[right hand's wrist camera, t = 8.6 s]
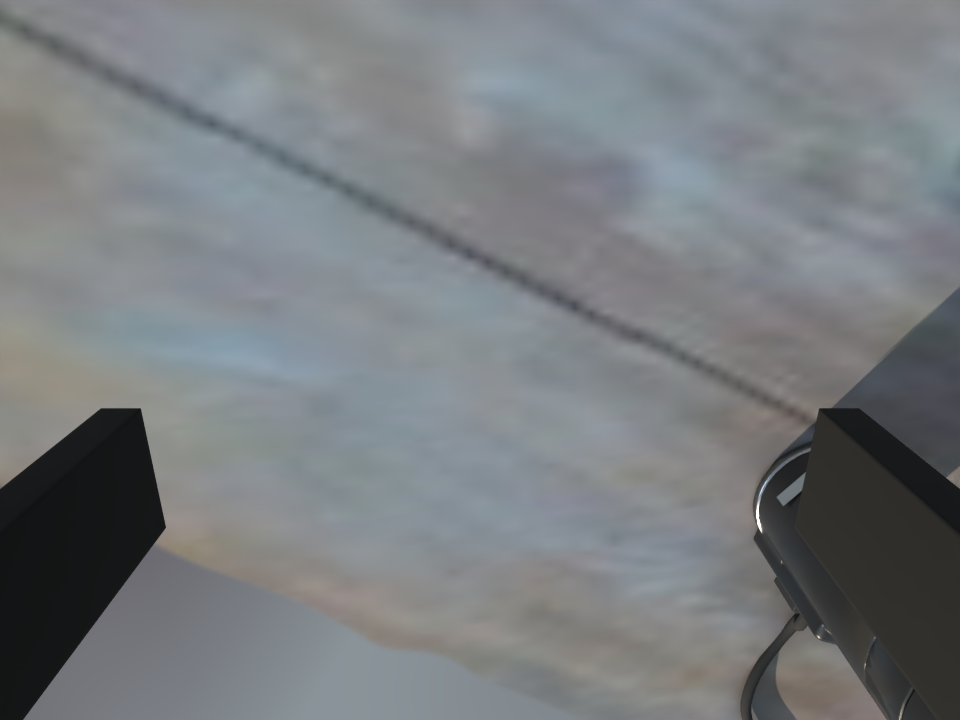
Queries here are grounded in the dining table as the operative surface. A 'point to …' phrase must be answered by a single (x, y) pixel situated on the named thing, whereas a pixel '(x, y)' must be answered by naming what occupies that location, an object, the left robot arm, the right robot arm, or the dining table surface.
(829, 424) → the right robot arm
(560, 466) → the dining table surface
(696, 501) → the dining table surface
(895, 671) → the left robot arm
